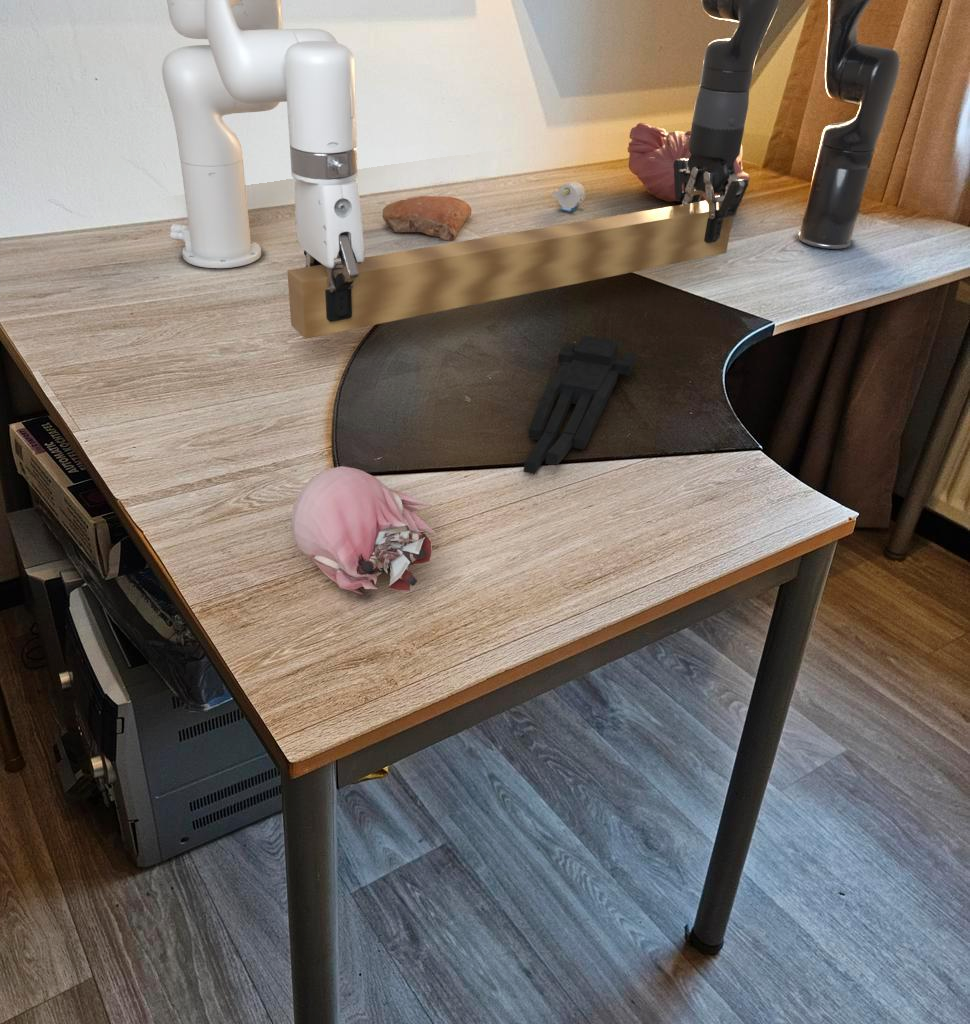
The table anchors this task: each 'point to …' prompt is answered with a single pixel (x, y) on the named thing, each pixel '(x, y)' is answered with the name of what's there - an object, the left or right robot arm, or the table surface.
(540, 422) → the toy
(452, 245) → the bar
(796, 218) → the table surface
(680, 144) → the fabric sculpture
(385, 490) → the pink rounded lump
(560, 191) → the electric motor
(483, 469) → the table surface
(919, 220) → the table surface
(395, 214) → the ceramic shard
